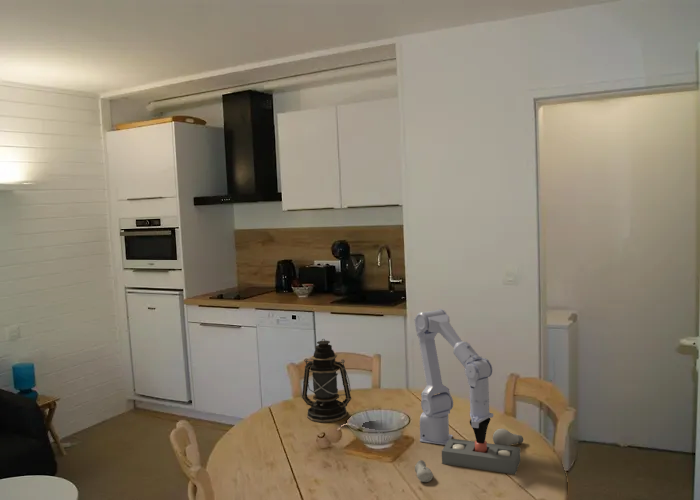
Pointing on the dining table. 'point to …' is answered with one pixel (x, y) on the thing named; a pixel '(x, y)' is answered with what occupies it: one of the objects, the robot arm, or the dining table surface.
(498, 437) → the lightbulb
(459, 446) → the left plug
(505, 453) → the right plug
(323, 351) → the lantern
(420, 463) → the smooth white sculpture
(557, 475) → the dining table surface
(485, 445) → the red plug
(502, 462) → the grey socket block
